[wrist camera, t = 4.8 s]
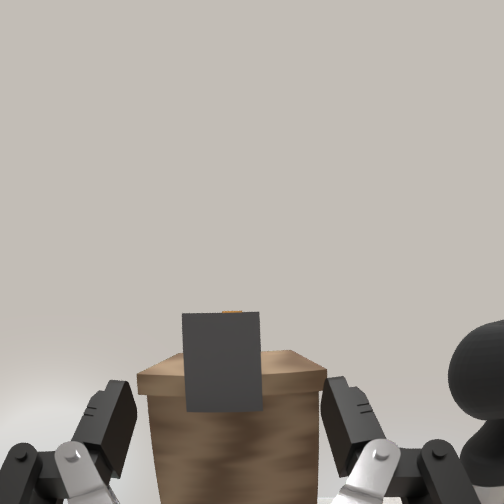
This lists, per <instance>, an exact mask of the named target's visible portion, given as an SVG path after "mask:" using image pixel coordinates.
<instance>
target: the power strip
mask: <svg viewBox="0 0 504 504" xmlns="http://www.w3.org/2000/svg"><path fill="white" fill-rule="evenodd" d="M182 332H183V333H182V334H183V359H184V379H185V395H186V410H187V412H254V411H263V397H262V370H261V344H260V319H259V312H242V311H223V312H222V313H191V314H190V313H186V314H185V313H183V314H182Z"/></svg>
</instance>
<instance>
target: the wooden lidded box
mask: <svg viewBox="0 0 504 504" xmlns="http://www.w3.org/2000/svg"><path fill="white" fill-rule="evenodd" d="M261 370H262V397H263V411H254V412H187V410H186V395H185V379H184V359H183V353H178V354H176V355H174V356H172V357H170V358H168V359H166V360H164V361H162V362H160V363H158V364H156V365H154V366H152V367H150V368H148V369H146V370H144V371H142V372H140V373H138V374H137V386H138V394H139V395H147V401H148V413H149V423H150V432H151V440H152V449H153V456H154V463H155V470H156V477H157V483H158V489H159V495H160V501H161V504H317V494H318V460H319V391H323V387H324V381H325V379H326V378H327V369H325V368H324V367H322V366H320V365H318V364H316V363H314V362H312V361H310V360H308V359H307V358H305V357H303V356H301V355H299V354H297V353H296V352H294V351H292V350H282V351H264V352H261Z"/></svg>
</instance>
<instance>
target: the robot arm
mask: <svg viewBox="0 0 504 504" xmlns="http://www.w3.org/2000/svg"><path fill="white" fill-rule="evenodd" d="M448 383H449V388H450V391H451V394H452V396H453V398H454V400H455V402H456V403H457V404H458V406H459V407H460V408H461V409H462V410H463V411H464V412H465V413H467V414H468V415H470V416H472V417H474V418H477V419H480V420H487V421H486V422H485V424H484V425H483V426H482V427H481V428H480V430H479V431H478V432H477V433H476V434H474V435H473V436H472V437H471V438H470V439H469V440H468V441H467V442H466V444H465V445H464V447H463V449H462V451H461V454H460V459H459V457H458V455H457V453H456V452H455V450H454V448H453V446H452V445H451V444H450V443H448V442H447V441H444V440H439V439H435V440H431V441H429V442H427V443H426V444H425V445H424V446H423V448H422V449H405V448H399V447H398V446H397V445H396V444H395V443H394V442H392V441H390V440H388V439H386V437H385V435H384V433H383V431H382V428H381V426H380V424H379V422H378V420H377V418H376V416H375V414H374V412H373V409H372V407H371V405H369V401H368V399H367V397H366V395H365V393H363V392H362V391H361V390H360V389H359V388H358V387H349V386H348V384H347V381H346V379H345V378H344V376H341V377H332V378H326V379H325V381H324V387H323V394H322V399H321V417H322V420H323V424H324V427H325V430H326V434H327V437H328V440H329V444H330V447H331V451H332V454H333V457H334V461H335V464H336V468H337V471H338V474H339V477H340V478H341V477H346V476H348V479H347V481H346V483H345V485H344V486H343V487H342V488H341V490H340V491H339V493H338V495H337V496H336V498H335V499H334V501H333V503H332V504H382V503H383V497H400V498H401V501H402V504H504V320H501V321H497V322H493V323H488V324H485V325H483V326H480V327H478V328H476V329H475V330H473V331H471V332H470V333H469V334H468V335H467V336H466V337H465V338H464V339H463V340H462V341H461V342H460V344H459V345H458V346H457V348H456V350H455V352H454V354H453V356H452V359H451V362H450V365H449V370H448ZM136 420H137V407H136V404H135V401H134V398H133V395H132V391H131V388H130V385H129V383H128V382H127V381H118V380H110V381H109V382H108V384H107V387H106V389H105V391H98V392H97V393H96V394H95V395H94V396H93V397H91V399H90V401H89V403H88V405H87V408H86V410H85V412H84V416H82V418H81V420H80V422H79V425H78V427H77V429H76V431H75V433H74V436H73V438H72V440H71V441H70V442H66V443H63V444H61V445H60V446H59V447H58V448H57V450H56V451H49V452H37V451H36V449H35V448H34V447H33V446H32V445H31V444H28V443H19V444H16V445H14V446H13V447H12V448H11V449H10V451H9V452H8V455H7V457H6V459H5V461H4V463H3V465H2V468H1V470H0V504H63V501H64V499H68V504H120V503H119V501H118V499H117V498H116V496H115V494H114V493H113V491H112V489H111V487H110V485H109V481H110V478H117V479H120V477H121V473H122V469H123V466H124V462H125V458H126V455H127V451H128V448H129V444H130V441H131V437H132V434H133V430H134V427H135V424H136Z"/></svg>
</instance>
